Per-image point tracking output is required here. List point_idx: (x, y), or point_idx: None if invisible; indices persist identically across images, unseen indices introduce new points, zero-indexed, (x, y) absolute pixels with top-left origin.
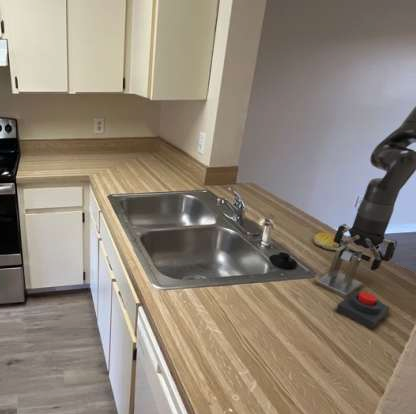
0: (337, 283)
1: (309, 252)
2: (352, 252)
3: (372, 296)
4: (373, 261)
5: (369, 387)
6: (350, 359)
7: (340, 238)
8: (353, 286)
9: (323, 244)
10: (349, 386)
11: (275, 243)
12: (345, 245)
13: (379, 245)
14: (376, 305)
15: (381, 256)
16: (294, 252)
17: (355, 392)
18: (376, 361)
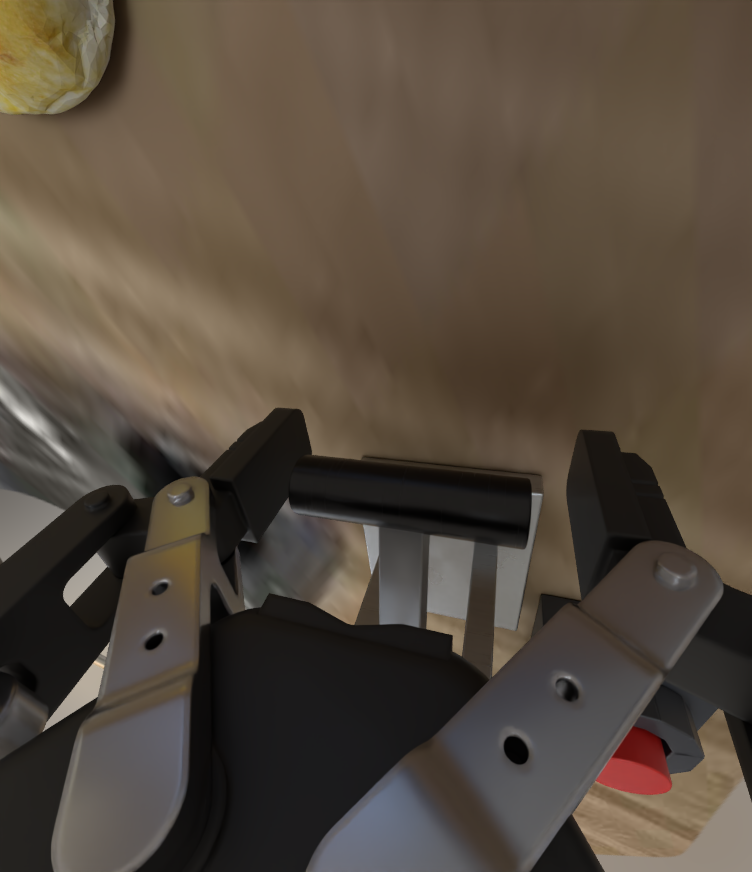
0: (445, 578)
1: (130, 304)
2: (342, 520)
3: (646, 776)
4: (580, 576)
5: (674, 834)
6: (618, 796)
7: (108, 536)
8: (516, 560)
9: (23, 107)
10: (632, 833)
11: (25, 373)
12: (227, 513)
13: (618, 741)
14: (671, 759)
15: (683, 688)
16: (125, 387)
17: (647, 840)
18: (686, 795)
